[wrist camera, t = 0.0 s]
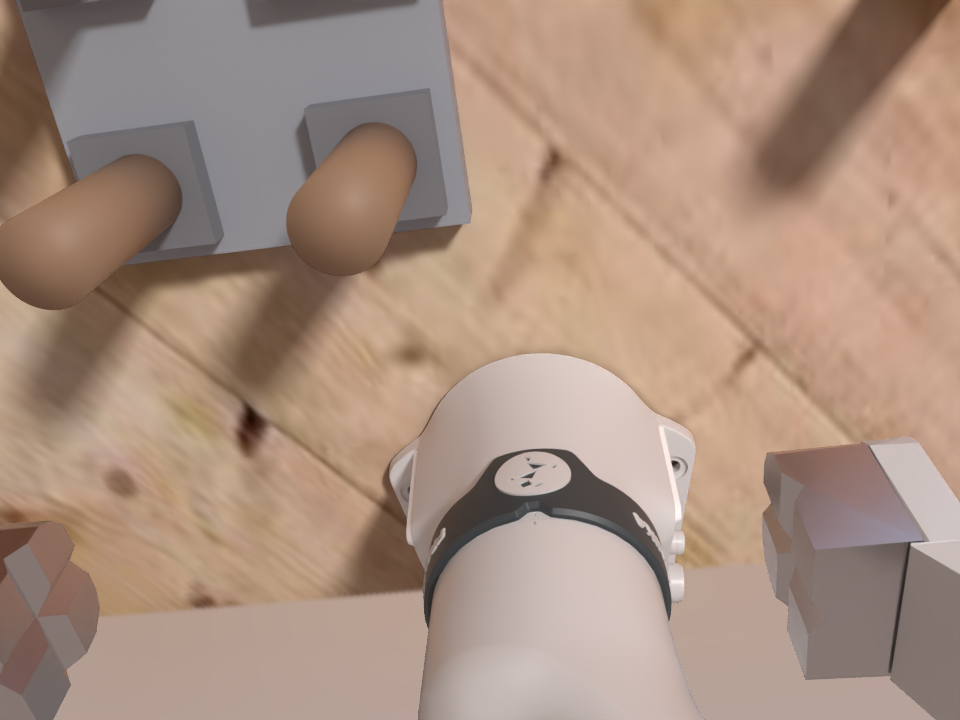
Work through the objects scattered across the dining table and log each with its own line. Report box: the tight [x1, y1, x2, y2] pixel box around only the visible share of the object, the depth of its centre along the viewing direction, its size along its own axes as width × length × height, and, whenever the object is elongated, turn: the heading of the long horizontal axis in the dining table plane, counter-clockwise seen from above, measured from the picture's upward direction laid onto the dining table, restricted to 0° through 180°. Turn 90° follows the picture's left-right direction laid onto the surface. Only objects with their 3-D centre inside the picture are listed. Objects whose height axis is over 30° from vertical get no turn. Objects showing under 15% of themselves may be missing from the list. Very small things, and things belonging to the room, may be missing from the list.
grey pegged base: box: [0, 0, 472, 310], centre depth 39 cm, size 20×20×14 cm
